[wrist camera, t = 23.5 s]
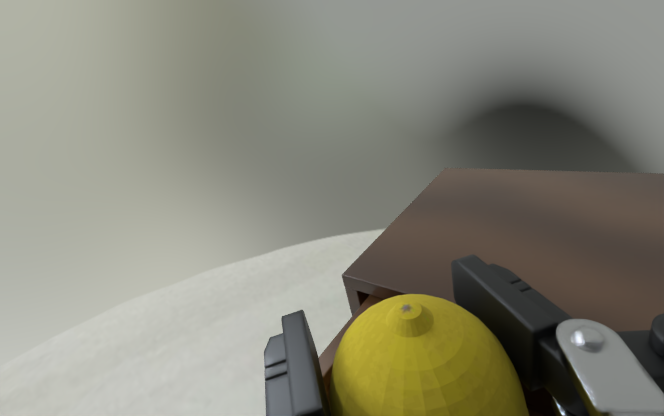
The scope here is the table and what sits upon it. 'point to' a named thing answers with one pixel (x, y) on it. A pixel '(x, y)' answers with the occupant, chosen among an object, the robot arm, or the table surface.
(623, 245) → the cabinet
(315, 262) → the table surface
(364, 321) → the lemon
